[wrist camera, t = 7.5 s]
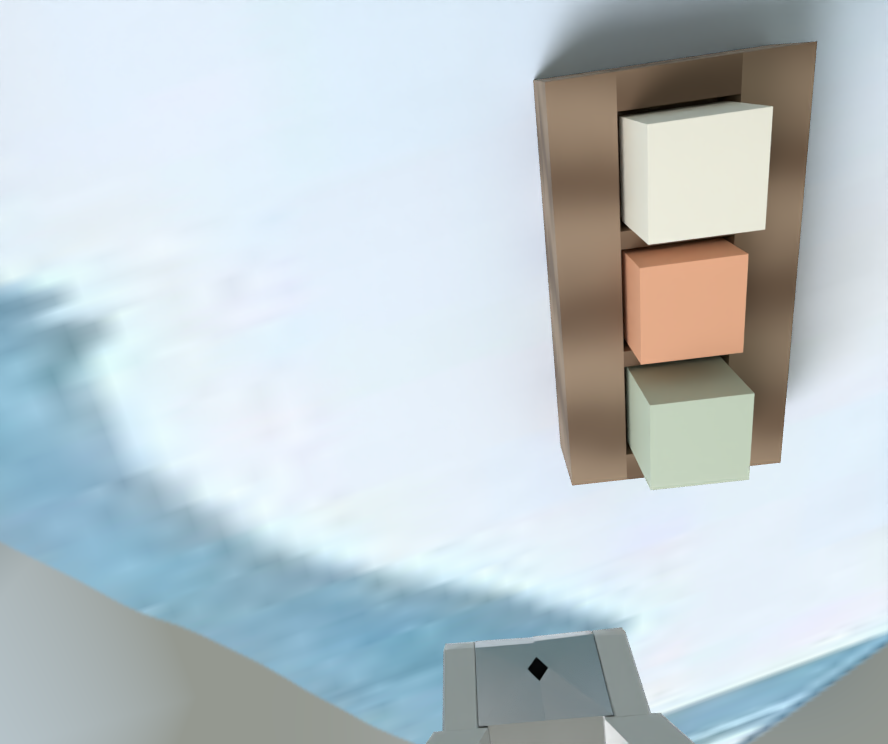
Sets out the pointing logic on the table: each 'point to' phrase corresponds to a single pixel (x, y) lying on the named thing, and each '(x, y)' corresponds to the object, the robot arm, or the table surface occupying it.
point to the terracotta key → (684, 299)
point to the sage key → (689, 422)
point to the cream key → (695, 170)
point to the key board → (604, 236)
